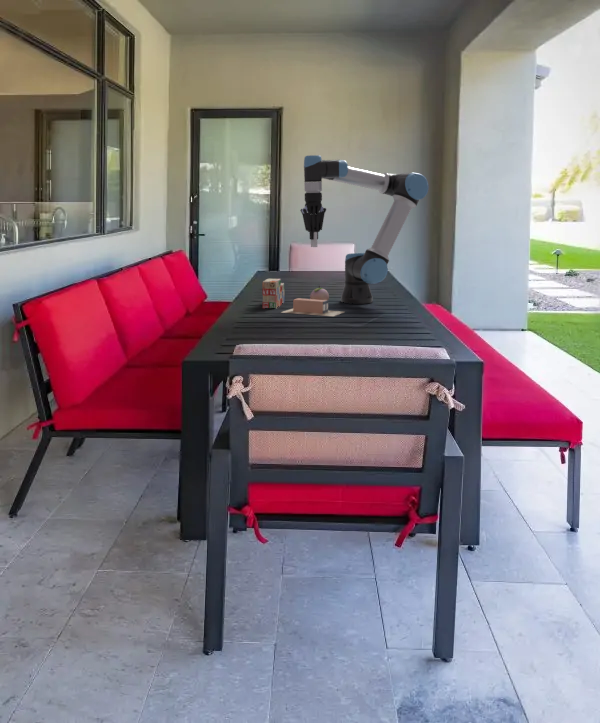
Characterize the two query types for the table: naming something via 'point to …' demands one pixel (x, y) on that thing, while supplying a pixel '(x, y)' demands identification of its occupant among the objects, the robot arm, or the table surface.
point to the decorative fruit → (319, 294)
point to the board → (329, 313)
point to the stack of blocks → (273, 293)
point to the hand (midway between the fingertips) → (314, 246)
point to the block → (310, 305)
